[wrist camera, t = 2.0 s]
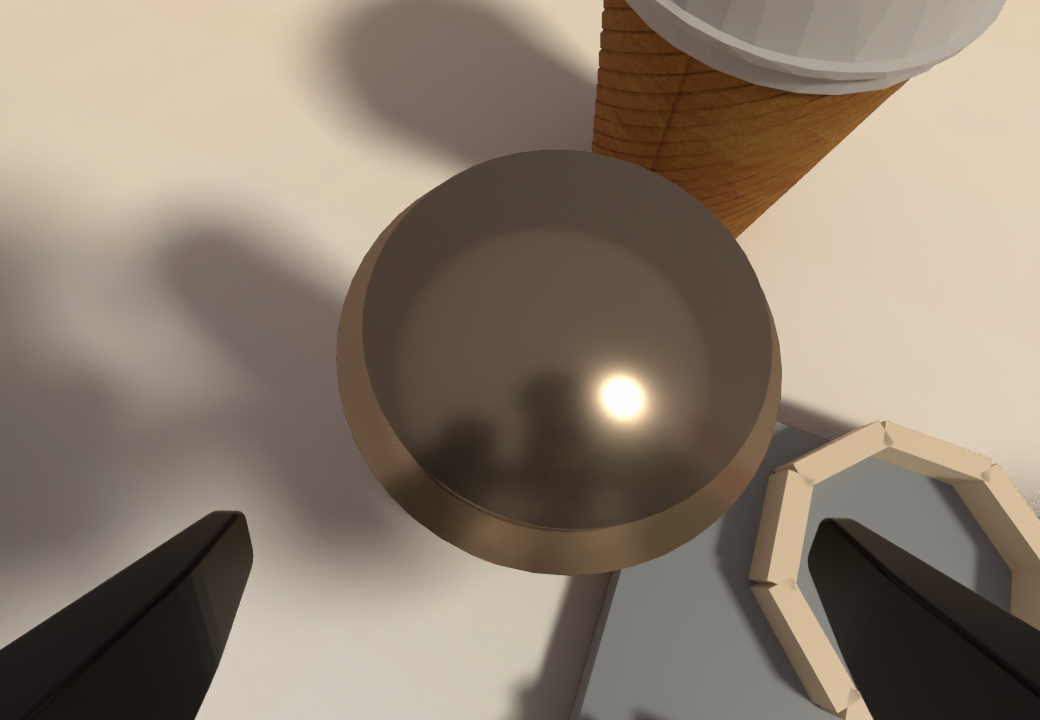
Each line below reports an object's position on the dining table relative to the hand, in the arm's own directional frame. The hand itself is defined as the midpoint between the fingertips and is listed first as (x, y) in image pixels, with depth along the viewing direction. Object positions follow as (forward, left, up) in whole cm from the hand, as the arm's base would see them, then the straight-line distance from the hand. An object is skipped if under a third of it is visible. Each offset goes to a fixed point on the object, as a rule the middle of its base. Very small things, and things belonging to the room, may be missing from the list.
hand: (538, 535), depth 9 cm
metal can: (+1, +2, -10) cm, 10 cm away
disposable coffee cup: (+12, +9, -10) cm, 18 cm away
